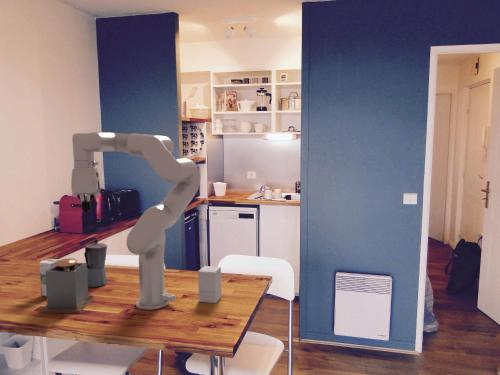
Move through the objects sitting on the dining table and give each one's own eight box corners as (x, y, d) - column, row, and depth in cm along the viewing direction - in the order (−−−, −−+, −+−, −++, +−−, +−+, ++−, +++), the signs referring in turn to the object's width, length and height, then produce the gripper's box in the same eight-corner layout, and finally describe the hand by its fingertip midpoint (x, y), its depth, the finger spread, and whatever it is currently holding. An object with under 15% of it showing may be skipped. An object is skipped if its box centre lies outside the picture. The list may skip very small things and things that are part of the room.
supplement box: (221, 296, 172) (221, 266, 170) (215, 303, 165) (215, 272, 163) (204, 295, 174) (204, 265, 172) (198, 301, 166) (197, 270, 165)
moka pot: (114, 279, 193) (112, 236, 190) (98, 291, 178) (96, 245, 175) (94, 278, 194) (92, 236, 191) (77, 290, 179) (74, 244, 176)
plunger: (82, 292, 166) (80, 258, 165) (74, 300, 159) (72, 264, 157) (62, 292, 166) (61, 258, 165) (53, 300, 159) (51, 264, 157)
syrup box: (62, 292, 176) (60, 259, 174) (52, 297, 170) (50, 263, 169) (51, 291, 178) (49, 257, 176) (40, 296, 172) (38, 261, 170)
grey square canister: (93, 298, 170) (92, 261, 168) (79, 312, 156) (77, 273, 154) (59, 298, 170) (57, 261, 168) (41, 312, 156) (39, 272, 154)
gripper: (106, 164, 169) (109, 209, 171) (69, 164, 168) (72, 210, 170) (100, 165, 161) (103, 212, 163) (61, 165, 161) (64, 213, 163)
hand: (87, 211), depth 167 cm, fingers closed
